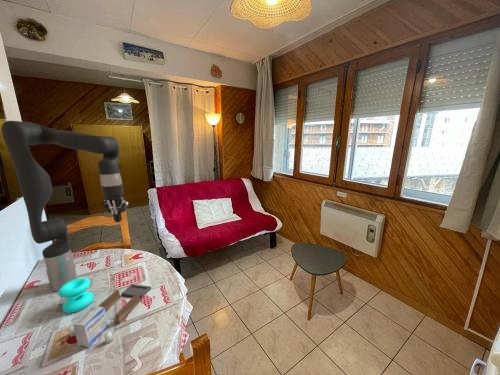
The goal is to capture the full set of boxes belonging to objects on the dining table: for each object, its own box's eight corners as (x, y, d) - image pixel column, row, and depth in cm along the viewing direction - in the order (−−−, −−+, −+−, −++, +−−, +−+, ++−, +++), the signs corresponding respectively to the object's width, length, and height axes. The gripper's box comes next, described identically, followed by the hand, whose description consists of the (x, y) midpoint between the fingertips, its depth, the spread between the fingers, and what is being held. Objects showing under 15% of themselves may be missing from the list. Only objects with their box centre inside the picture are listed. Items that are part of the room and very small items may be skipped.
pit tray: (122, 295, 89) (121, 293, 88) (132, 286, 95) (131, 284, 94) (141, 298, 87) (141, 296, 87) (150, 288, 93) (150, 286, 92)
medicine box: (89, 347, 66) (84, 326, 64) (77, 345, 67) (72, 324, 65) (108, 326, 74) (104, 306, 72) (98, 325, 75) (94, 305, 73)
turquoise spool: (52, 296, 76) (64, 279, 85) (58, 317, 78) (70, 299, 87) (84, 288, 79) (93, 274, 88) (89, 310, 81) (97, 293, 90)
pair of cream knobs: (68, 336, 70) (66, 329, 70) (74, 331, 72) (72, 324, 72) (109, 344, 67) (107, 337, 66) (114, 338, 69) (112, 331, 68)
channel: (94, 319, 77) (92, 310, 76) (117, 297, 87) (116, 290, 87) (120, 323, 75) (118, 314, 74) (140, 301, 85) (139, 293, 84)
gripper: (90, 185, 83) (98, 224, 87) (117, 186, 81) (124, 225, 85) (106, 181, 90) (112, 217, 94) (131, 182, 88) (137, 219, 92)
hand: (118, 221), depth 89 cm, fingers closed
